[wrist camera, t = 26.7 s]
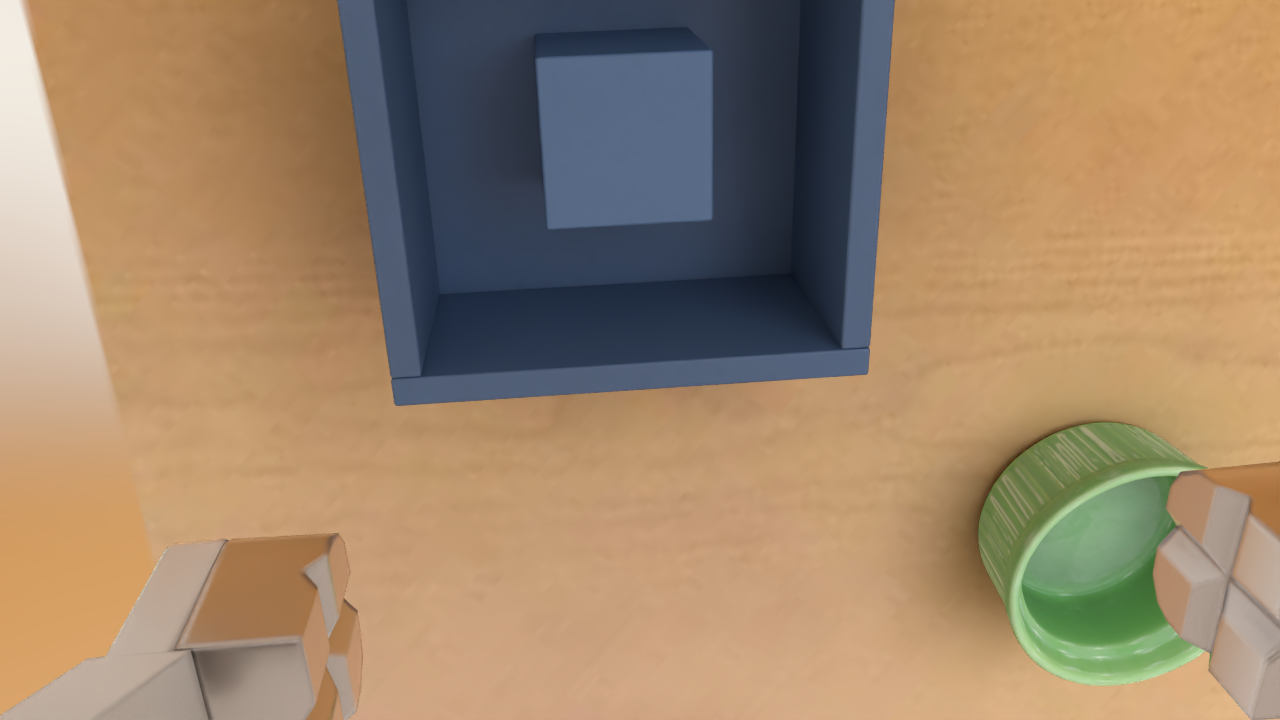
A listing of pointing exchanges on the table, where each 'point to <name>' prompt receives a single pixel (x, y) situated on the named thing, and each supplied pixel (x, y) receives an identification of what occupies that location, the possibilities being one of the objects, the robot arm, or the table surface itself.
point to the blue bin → (618, 255)
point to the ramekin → (1086, 552)
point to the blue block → (625, 127)
